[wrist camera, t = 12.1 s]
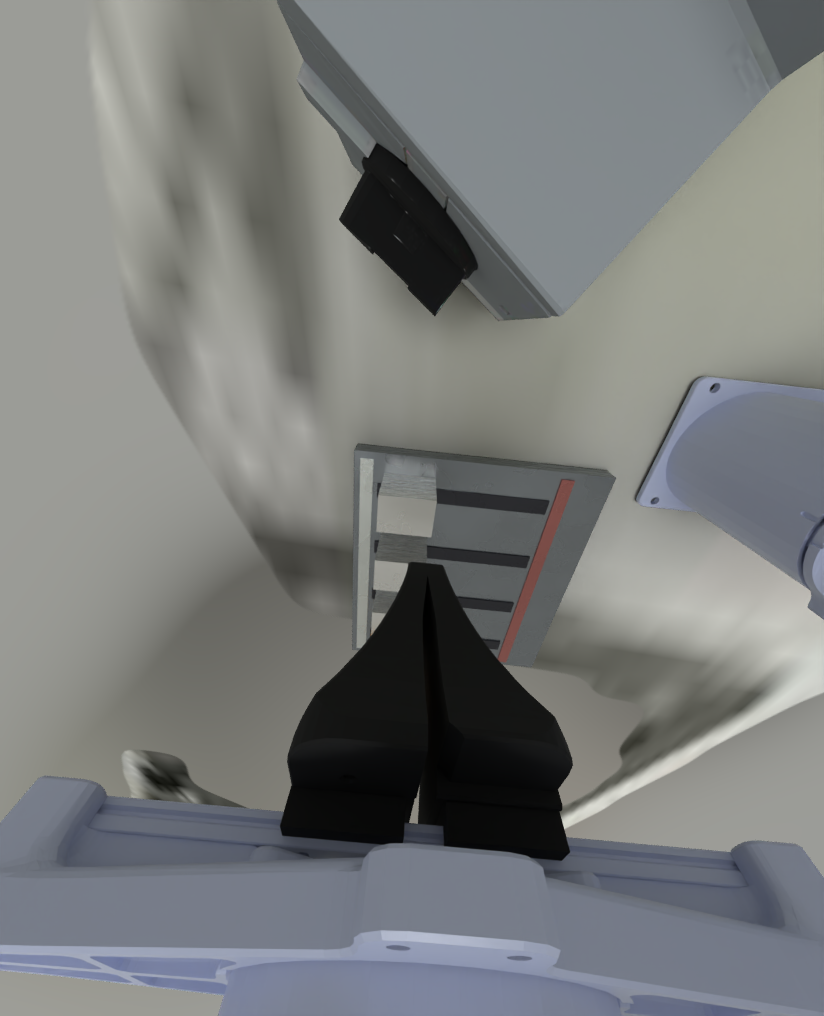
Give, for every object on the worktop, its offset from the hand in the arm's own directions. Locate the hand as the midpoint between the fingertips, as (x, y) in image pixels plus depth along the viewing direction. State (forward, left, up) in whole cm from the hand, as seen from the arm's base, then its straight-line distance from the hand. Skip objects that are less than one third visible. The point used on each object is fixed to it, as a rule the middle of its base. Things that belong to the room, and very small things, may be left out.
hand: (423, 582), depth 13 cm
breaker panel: (-4, +7, -10) cm, 13 cm away
